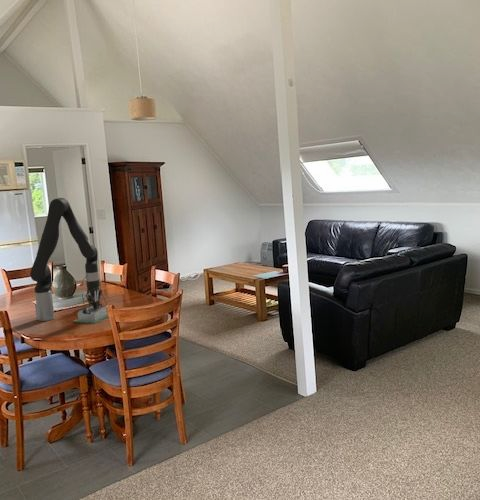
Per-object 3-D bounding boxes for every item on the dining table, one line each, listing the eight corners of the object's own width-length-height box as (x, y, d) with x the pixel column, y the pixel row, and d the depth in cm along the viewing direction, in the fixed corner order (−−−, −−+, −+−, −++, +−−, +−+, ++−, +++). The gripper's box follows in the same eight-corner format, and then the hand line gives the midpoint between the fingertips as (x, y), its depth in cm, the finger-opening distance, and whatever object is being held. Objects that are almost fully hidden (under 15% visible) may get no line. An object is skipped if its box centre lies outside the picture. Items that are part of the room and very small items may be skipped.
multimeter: (82, 310, 314) (78, 279, 311) (83, 306, 324) (80, 276, 320) (105, 308, 317) (102, 277, 314) (106, 304, 326) (103, 274, 323)
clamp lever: (89, 313, 289) (89, 310, 289) (84, 312, 291) (84, 310, 290) (101, 308, 300) (101, 305, 300) (97, 307, 301) (96, 305, 301)
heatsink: (72, 321, 291) (71, 309, 289) (93, 312, 308) (92, 301, 307) (95, 323, 285) (94, 311, 284) (115, 314, 302) (113, 302, 301)
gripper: (94, 276, 302) (97, 304, 305) (80, 281, 290) (83, 310, 293) (104, 277, 299) (107, 304, 302) (90, 282, 287) (93, 311, 290)
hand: (95, 307), depth 297 cm, fingers closed
